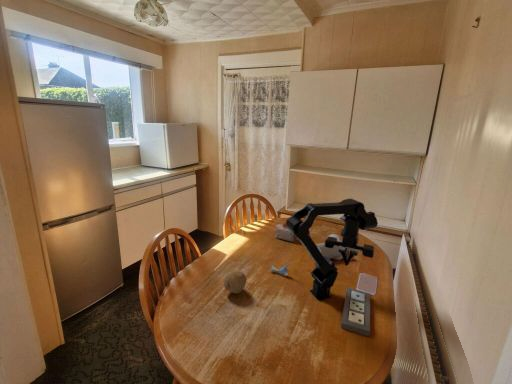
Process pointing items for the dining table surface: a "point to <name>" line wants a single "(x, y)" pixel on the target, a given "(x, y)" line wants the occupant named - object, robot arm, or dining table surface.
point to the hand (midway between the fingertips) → (346, 265)
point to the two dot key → (356, 318)
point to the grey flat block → (352, 326)
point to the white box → (284, 233)
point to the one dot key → (358, 296)
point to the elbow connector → (330, 249)
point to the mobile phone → (367, 283)
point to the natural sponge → (235, 281)
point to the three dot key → (356, 306)
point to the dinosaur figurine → (282, 270)
